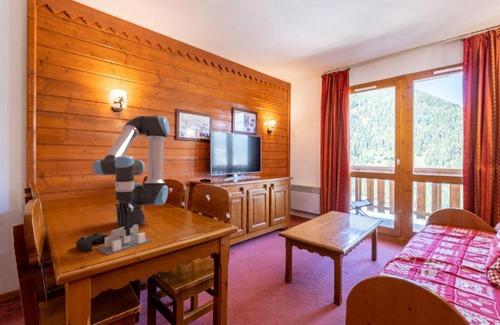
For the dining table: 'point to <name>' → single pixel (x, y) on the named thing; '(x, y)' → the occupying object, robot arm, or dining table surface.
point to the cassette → (119, 232)
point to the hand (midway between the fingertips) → (125, 241)
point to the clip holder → (117, 245)
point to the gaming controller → (90, 241)
